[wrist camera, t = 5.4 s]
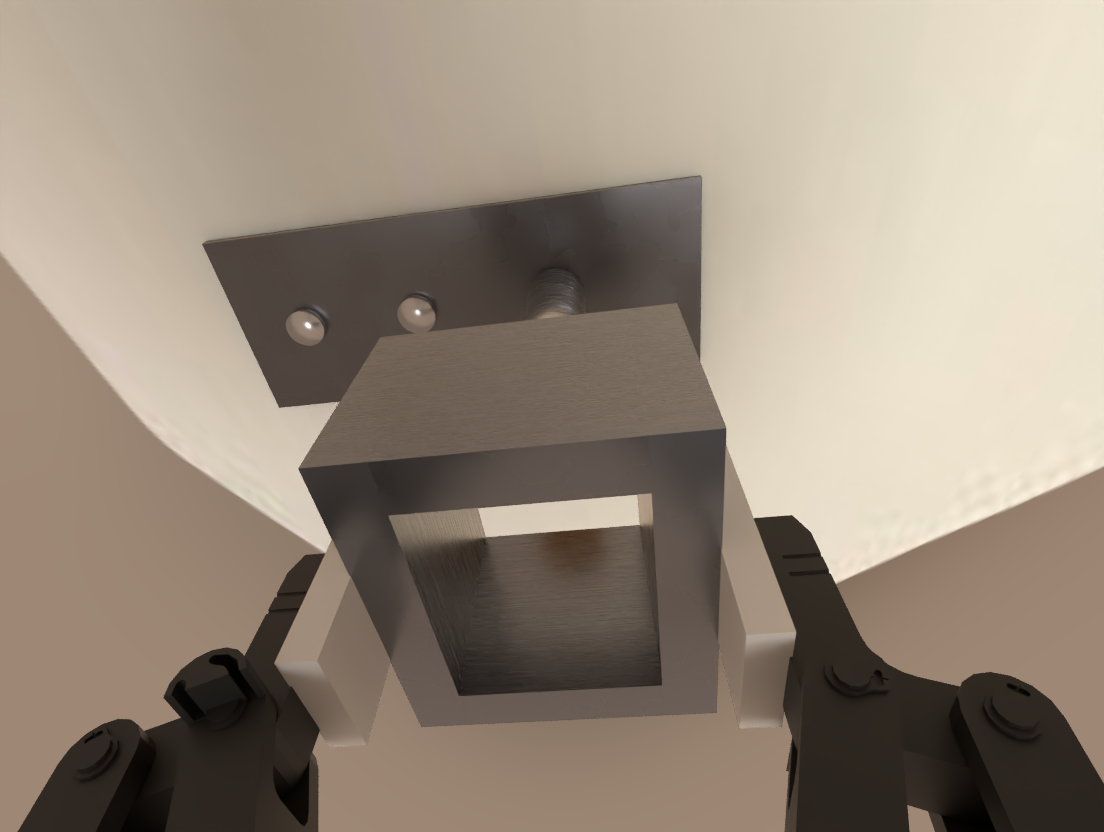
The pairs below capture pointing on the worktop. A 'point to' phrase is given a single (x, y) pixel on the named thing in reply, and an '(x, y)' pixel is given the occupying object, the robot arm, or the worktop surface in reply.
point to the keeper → (455, 275)
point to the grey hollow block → (524, 478)
